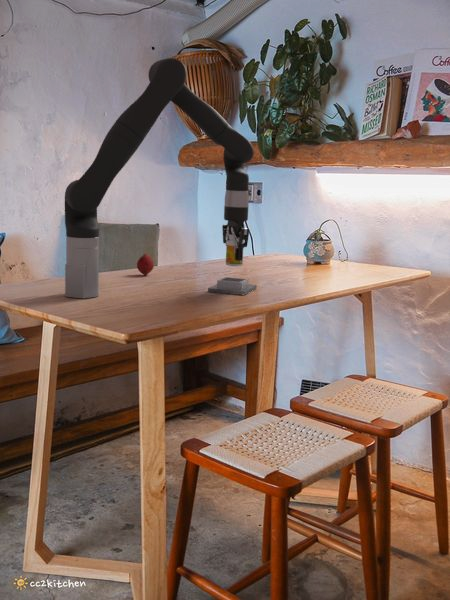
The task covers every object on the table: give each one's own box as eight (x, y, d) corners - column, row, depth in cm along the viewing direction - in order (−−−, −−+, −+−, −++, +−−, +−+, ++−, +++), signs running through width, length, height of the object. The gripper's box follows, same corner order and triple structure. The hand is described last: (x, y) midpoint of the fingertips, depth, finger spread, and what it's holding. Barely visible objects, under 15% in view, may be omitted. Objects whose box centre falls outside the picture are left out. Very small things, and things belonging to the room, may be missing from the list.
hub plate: (244, 295, 210) (245, 284, 210) (207, 291, 214) (208, 281, 213) (256, 288, 223) (257, 278, 223) (221, 285, 227) (222, 275, 226)
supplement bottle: (223, 264, 218) (224, 233, 217) (238, 263, 220) (240, 233, 219) (229, 266, 213) (230, 235, 212) (245, 266, 215) (246, 235, 214)
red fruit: (145, 277, 236) (145, 254, 235) (133, 275, 240) (133, 252, 238) (156, 275, 241) (157, 253, 239) (144, 273, 244) (145, 251, 243)
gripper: (258, 207, 209) (255, 262, 212) (236, 204, 221) (234, 255, 225) (236, 206, 205) (234, 262, 209) (215, 203, 218) (213, 256, 221)
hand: (234, 258), depth 217 cm, fingers closed on supplement bottle, 5 cm apart
